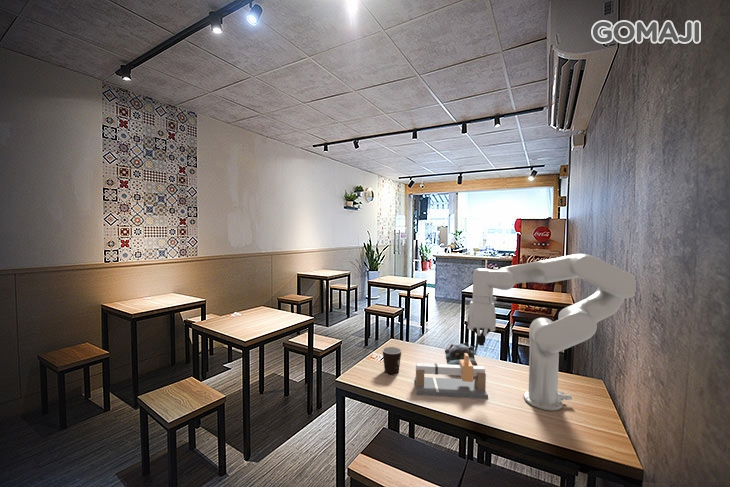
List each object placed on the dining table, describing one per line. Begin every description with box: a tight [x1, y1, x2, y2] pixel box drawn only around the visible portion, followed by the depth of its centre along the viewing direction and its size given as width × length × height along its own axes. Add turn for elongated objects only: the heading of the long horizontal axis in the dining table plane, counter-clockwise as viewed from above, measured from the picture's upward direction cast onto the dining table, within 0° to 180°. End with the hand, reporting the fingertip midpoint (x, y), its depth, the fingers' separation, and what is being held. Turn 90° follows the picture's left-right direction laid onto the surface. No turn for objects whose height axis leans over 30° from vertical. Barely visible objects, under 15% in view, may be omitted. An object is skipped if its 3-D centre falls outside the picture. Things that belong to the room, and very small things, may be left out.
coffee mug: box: [382, 346, 402, 376], centre depth 142 cm, size 12×9×10 cm
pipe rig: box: [414, 362, 489, 400], centre depth 126 cm, size 27×12×10 cm, turn 85°
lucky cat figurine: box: [444, 342, 479, 366], centre depth 144 cm, size 15×12×14 cm
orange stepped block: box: [459, 353, 474, 382], centre depth 126 cm, size 4×6×10 cm, turn 175°
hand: (480, 344), depth 125 cm, fingers closed
